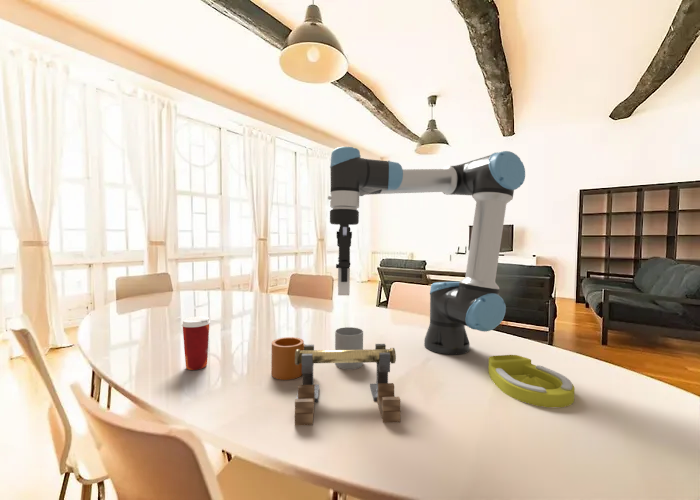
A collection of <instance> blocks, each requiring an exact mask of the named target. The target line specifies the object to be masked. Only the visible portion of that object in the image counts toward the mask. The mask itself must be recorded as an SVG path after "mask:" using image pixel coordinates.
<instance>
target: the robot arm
mask: <svg viewBox="0 0 700 500" xmlns="http://www.w3.org/2000/svg"><path fill="white" fill-rule="evenodd" d="M329 168H330V195H328V197H327V200H328V201H330V202H329V203H330V204H329V205H330V206H329V207H330V208H331V210H330V211H329V223H330V224H331V225H337V226H338V225H339V228H338V230H337V231H336V239H337V241H336V242H337V245H336V246H337V247H338V258H337V259H338V260H337V262H338V263H336V264H335V268H336V269H338V270H337V296H350V285H351V282H350V281H351V279H350V276H351V275H350V274H351V273H350V272H351V270H350V267H351V249H350V248H351V246H352V237H353V231H351V227H350V226H354V225H358V224H359V222H360V220H359V218H360V212H359V208H360V197H363V196H366V195H383V194H384V195H385V194H386V195H388V194H389V195H391V194H417V193H418V194H419V193H420V194H421V193H442V194H444V195H447V196H449V195H451V196H453V195H457V196H471V197H472V198H473V200H474V201H475V203H476V204H475V209H474V214H473V215H474V217H473V224H472V228H471V236H470V242H469V243H470V244H469V249H468V255H467V256H468V257H467V265H466V270H465V277H464V278H462V279H461V280H459V281H438V282H437V281H436V282H433V283H432V284H431V285H430V290H429V297H430V298H429V299H430V300H429V326H428V328H427V331H426V333H425V336H424V339H423V340H424V347H425V348H426V349H427V350H429V351H432V352H434V353H437V354H443V355H463V354H466V353H469V351H470V347H471V345H470V344H471V343H470V341H469V337H468V333H467V330H466V327H467V328H469V329H471V330H475V331H479V332H484V333H485V332H490V331H493V330H495V329H496V328H497V326H499V325H500V324H501V323H502V322H503V320H504V319H505V318H504V317H505V316H506V310H507V307H506V306H507V305H506V303H505V301H504V298H502V296H500V290H501V289H500V287H499V285H498V283H496V277H497V272H498V271H497V270H498V265H499V256H500V252H501V251H500V250H501V245H502V244H501V243H502V237H503V229H504V224H505V222H504V221H505V217H506V216H505V215H506V209H507V205H508V203H510V202H511V201H513V198H514V195H515V194H514V192H515V190H517V189H519V188H520V187H521V186H522V185H523V184H524V182H525V178H526V168H525V166H524V163H523V161H522V160H521V158H520V156H518V155H517V154H516V153H514V152H513V151H508V150H503V151H498V152H494V153H491V154H489V155H485V156H482V157H480V158H476V159H473V160H470V161H467V162H464V163H461V164H456V165H447V166H444V167H443V168H431V169H430V168H420V169H419V168H418V169H415V168H414V169H412V168H411V169H410V168H409V169H407V168H406V169H404V168H403V167H402V165H401V164H400V163H399V162H396V161H391V160H380V159H370V158H369V159H368V158H362V157H361V153H360V150H359V149H358V148H356V147H353V146H340V147H336V148H334V149H333V150H332V151H331V156H330V166H329ZM465 326H466V327H465Z"/></svg>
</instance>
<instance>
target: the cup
mask: <svg viewBox="0 0 700 500" xmlns="http://www.w3.org/2000/svg"><path fill="white" fill-rule="evenodd" d="M334 333H335V334H334V339H335V340H334V343H335V344H334V350H364V330H363V329H361V328H359V327H350V326H348V327H347V326H345V327H340V328H337V329H335V331H334ZM363 364H364V363H334V365H335V366H336V367H337V368H338V369H342V370H356V369H359V368H361V367H363Z"/></svg>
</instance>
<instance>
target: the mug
mask: <svg viewBox="0 0 700 500" xmlns="http://www.w3.org/2000/svg"><path fill="white" fill-rule="evenodd" d="M304 342H305V341H304V339H302V338H300V337H293V336H289V337H280V338H276V339H274V340H272V342H271V362H270V363H271V365H270V366H271V368H270V370H271V373H270V374H271V377H272V378H274V379H277V380H281V381H287V380H294V379H297V378H300V377H301V376H303V374H302V364H299V365H295V351H296V349H300V350H304V345H306V344H305V343H304ZM313 366H315V363H314V364H313Z"/></svg>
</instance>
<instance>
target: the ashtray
mask: <svg viewBox="0 0 700 500" xmlns="http://www.w3.org/2000/svg"><path fill="white" fill-rule="evenodd" d="M487 369H488V375H489V378H490V379H491V381H492V383H493V384H494V383H495V384H494V385H495V386H496V387H497V388H498V389H499V390H500V391H501V392H502V393H504V394H505V395H507V396H508V397H511V398H512V399H514V400H517V401H519V402H522V403H524V402H526V403H525V404H528V403H529V405H531V404H533V405H532V406H536V405H537V407H541V406H543V408H550V407H560V408H566V407H570V406H571V405H573V404H572V403H574V402H575V390H576V387H575V386H574V384H573V383H572V382H571V380H570V379H569V378H568V377H567V376H565V375H563V374H562V373H559V372H557V371H555V370H552V369H550V368H548V367H545V366H543V365H539V364H537V365H536V364H534V363H532V359H531V358H528V357H525V356H522V355H517V354H502V355H491V356H488V368H487ZM565 406H566V407H565Z"/></svg>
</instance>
